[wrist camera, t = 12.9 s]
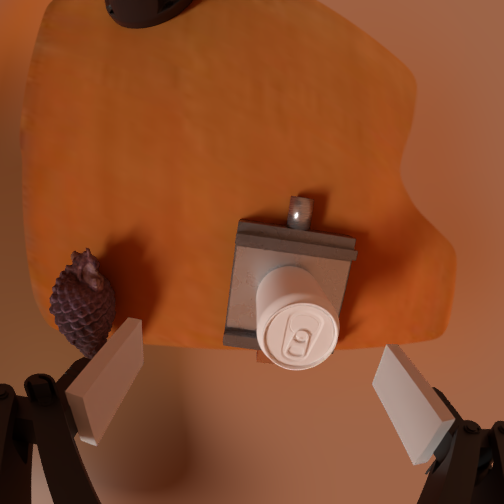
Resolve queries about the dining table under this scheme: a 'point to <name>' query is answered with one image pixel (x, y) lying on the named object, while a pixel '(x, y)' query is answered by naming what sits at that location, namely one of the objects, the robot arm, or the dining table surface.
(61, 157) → the dining table surface
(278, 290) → the beverage can
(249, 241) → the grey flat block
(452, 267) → the dining table surface
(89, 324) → the pine cone
